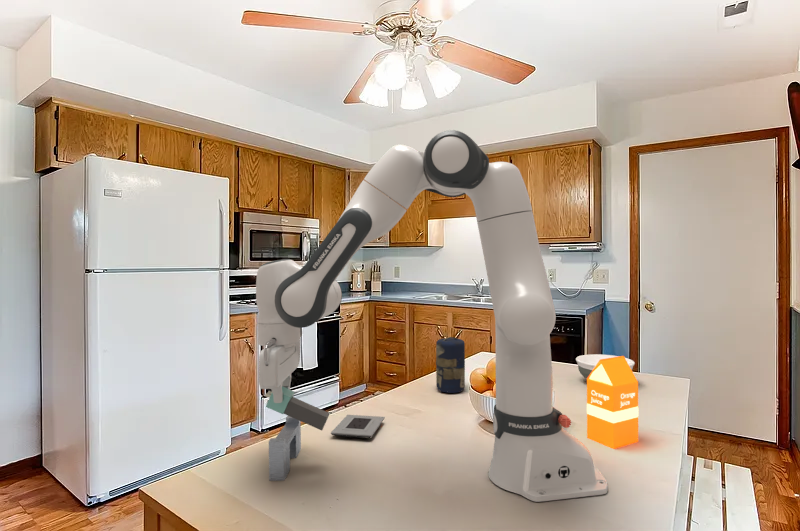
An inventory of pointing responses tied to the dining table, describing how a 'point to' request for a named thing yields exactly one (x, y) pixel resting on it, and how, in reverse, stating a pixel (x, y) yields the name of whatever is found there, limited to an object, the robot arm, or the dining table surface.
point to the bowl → (594, 363)
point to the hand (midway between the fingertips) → (282, 398)
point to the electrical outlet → (358, 426)
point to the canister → (450, 365)
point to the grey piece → (284, 449)
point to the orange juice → (612, 403)
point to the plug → (298, 409)
